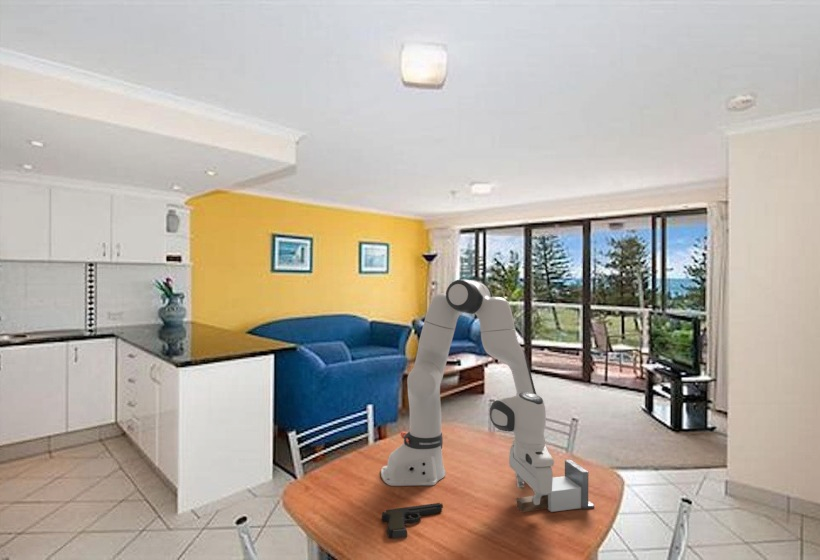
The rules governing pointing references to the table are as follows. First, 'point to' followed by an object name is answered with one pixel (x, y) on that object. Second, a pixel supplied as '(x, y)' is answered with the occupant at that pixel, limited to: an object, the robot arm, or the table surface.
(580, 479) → the wall
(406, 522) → the handgun
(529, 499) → the walnut bar
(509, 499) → the table surface
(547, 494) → the robot arm
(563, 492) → the tunnel block
